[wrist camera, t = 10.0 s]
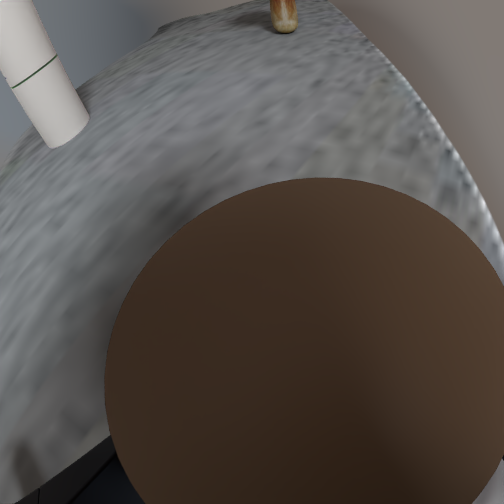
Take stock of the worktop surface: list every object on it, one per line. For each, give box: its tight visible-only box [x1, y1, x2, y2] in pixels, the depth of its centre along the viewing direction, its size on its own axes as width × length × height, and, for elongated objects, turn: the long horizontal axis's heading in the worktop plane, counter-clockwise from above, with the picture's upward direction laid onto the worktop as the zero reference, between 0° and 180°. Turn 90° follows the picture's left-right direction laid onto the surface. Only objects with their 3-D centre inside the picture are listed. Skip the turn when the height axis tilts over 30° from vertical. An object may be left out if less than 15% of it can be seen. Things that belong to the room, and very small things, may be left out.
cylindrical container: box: [0, 0, 90, 148], centre depth 24 cm, size 7×7×25 cm
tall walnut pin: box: [105, 178, 504, 504], centre depth 8 cm, size 4×4×14 cm
